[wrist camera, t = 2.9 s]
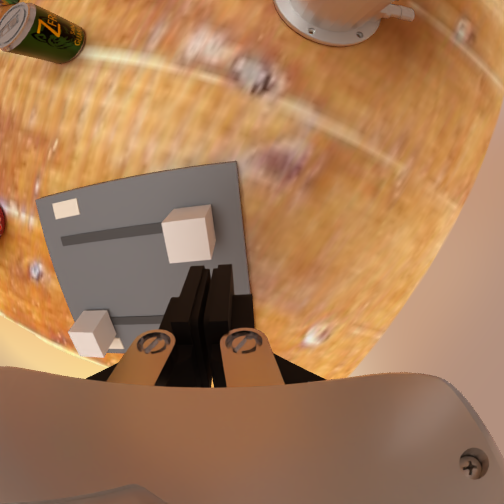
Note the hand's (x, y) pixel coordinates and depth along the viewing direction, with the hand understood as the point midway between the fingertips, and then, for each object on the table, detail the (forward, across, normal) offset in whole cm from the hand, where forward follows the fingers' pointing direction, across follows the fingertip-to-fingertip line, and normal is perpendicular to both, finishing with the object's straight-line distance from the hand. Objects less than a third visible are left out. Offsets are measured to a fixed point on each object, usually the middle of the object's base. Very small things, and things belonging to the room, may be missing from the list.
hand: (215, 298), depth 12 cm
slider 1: (+20, +19, +15) cm, 32 cm away
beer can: (+21, +19, -22) cm, 36 cm away
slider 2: (+19, +4, +2) cm, 20 cm away
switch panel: (+22, +12, +9) cm, 26 cm away
